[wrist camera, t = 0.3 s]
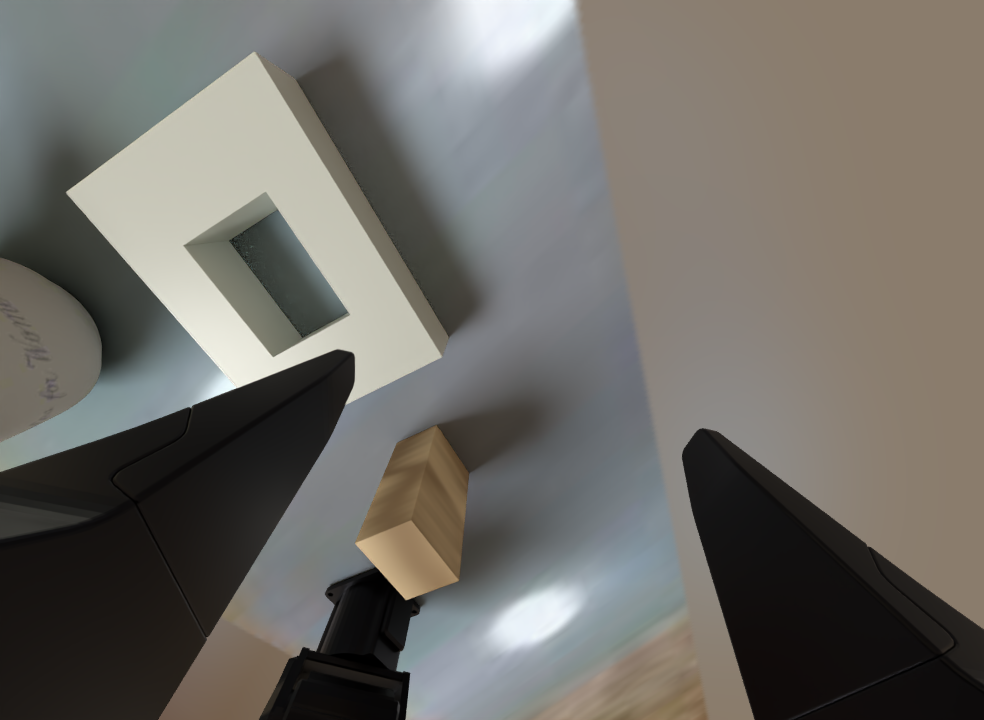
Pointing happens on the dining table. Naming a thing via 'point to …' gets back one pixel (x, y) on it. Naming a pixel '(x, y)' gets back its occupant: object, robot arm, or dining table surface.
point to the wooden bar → (418, 516)
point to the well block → (242, 203)
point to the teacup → (42, 350)
